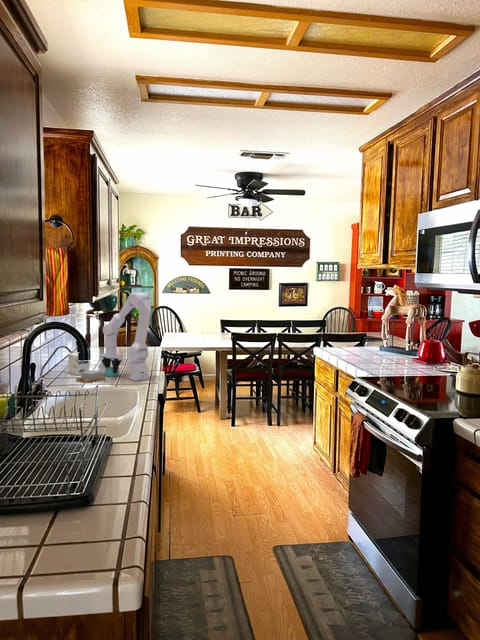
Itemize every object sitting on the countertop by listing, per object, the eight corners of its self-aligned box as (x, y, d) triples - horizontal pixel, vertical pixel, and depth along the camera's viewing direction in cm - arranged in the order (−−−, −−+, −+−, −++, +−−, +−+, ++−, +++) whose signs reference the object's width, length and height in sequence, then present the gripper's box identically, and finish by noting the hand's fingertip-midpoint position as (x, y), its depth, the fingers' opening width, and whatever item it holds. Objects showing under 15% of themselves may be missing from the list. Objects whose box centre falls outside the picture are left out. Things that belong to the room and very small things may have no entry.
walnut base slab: (105, 381, 243) (105, 376, 243) (90, 384, 235) (89, 379, 234) (91, 379, 248) (91, 374, 248) (76, 382, 240) (76, 377, 240)
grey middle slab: (101, 376, 242) (101, 371, 242) (90, 379, 236) (90, 374, 236) (92, 375, 246) (92, 370, 246) (81, 377, 240) (80, 372, 240)
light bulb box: (89, 373, 258) (89, 354, 258) (78, 375, 254) (77, 355, 253) (79, 371, 266) (79, 351, 265) (68, 373, 261) (67, 353, 260)
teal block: (118, 374, 255) (118, 367, 255) (111, 376, 251) (111, 368, 250) (111, 373, 258) (111, 366, 257) (104, 375, 253) (104, 368, 253)
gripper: (126, 347, 253) (127, 372, 254) (107, 345, 260) (107, 369, 261) (116, 348, 247) (117, 374, 248) (97, 346, 254) (97, 372, 255)
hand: (111, 372), depth 254 cm, fingers closed on teal block, 5 cm apart
